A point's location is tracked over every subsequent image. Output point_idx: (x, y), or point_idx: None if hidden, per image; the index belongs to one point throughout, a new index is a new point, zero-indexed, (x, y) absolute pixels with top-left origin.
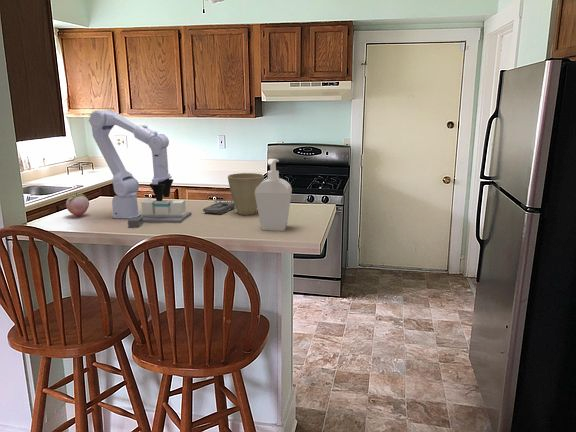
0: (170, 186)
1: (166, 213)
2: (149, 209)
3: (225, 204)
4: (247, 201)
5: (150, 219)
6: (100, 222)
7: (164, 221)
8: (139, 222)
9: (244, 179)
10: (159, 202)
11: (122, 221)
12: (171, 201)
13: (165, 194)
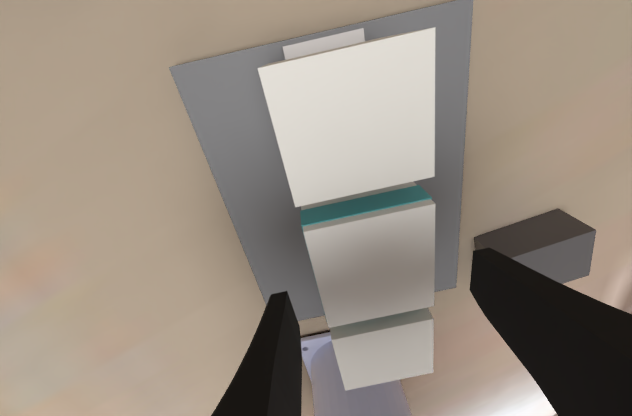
0: (241, 413)
1: None
2: None
3: None
4: None
5: (449, 228)
6: (455, 378)
7: (459, 134)
8: (561, 227)
9: None
10: (424, 275)
11: (436, 331)
12: (317, 222)
13: (296, 338)
